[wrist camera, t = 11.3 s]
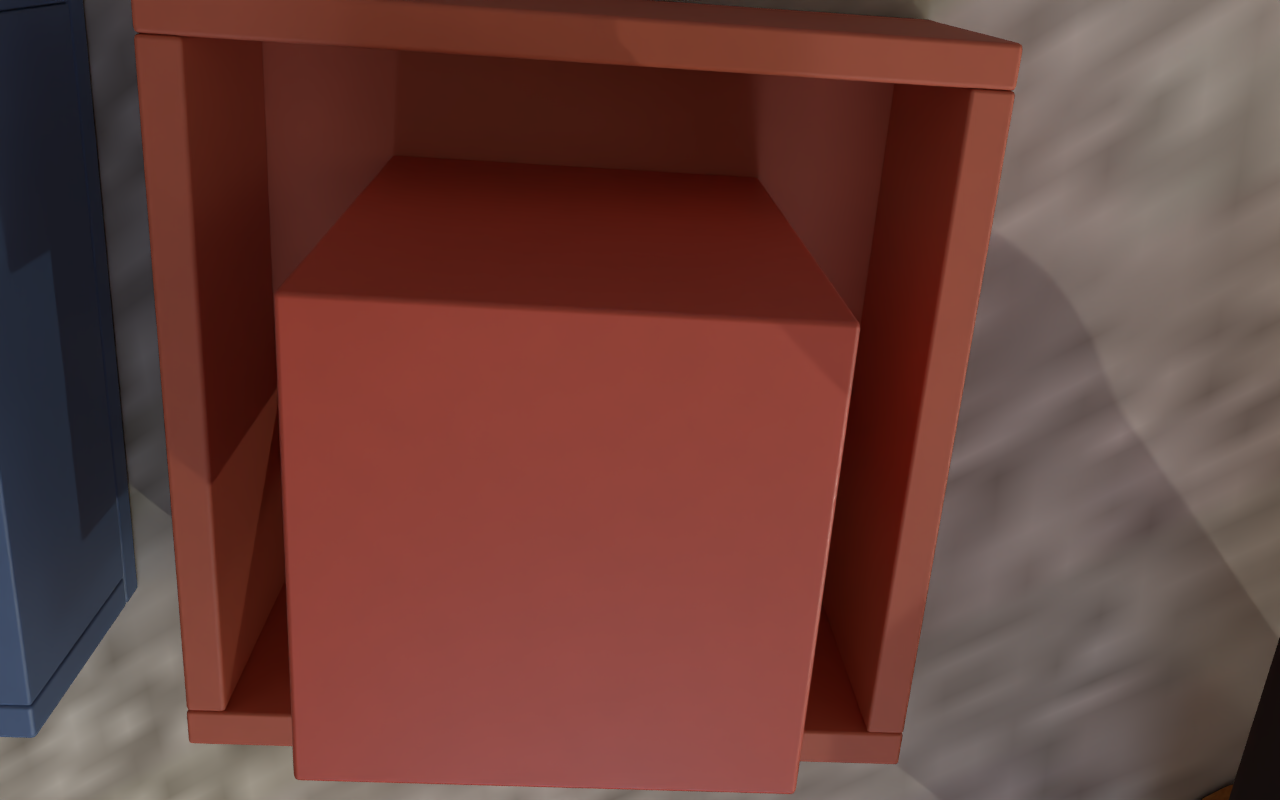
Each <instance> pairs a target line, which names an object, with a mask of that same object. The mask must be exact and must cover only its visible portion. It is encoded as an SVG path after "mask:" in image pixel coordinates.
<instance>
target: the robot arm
mask: <svg viewBox="0 0 1280 800" xmlns="http://www.w3.org/2000/svg"><path fill="white" fill-rule="evenodd" d="M1229 800H1280V638H1279V642H1278V645H1277V648H1276V651H1275V654H1274V657H1273V661H1272V664H1271V667H1270V670H1269V673H1268V676H1267V680H1266V683H1265V686H1264V689H1263V692H1262V695H1261V699H1260V702H1259V705H1258V708H1257V711H1256V714H1255V718H1254V721H1253V724H1252V727H1251V730H1250V733H1249V737H1248V740H1247V743H1246V746H1245V749H1244V752H1243V756H1242V759H1241V762H1240V765H1239V768H1238V771H1237V775H1236V778H1235V781H1234V784H1233V787H1232V790H1231V794H1230V797H1229Z"/></svg>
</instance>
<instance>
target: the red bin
mask: <svg viewBox="0 0 1280 800" xmlns="http://www.w3.org/2000/svg"><path fill="white" fill-rule="evenodd" d="M131 7H132V19H133V28H134V30H135V31H136V32H138V33H139V34H136V35H135V38H134V44H135V57H136V70H137V82H138V95H139V108H140V120H141V133H142V146H143V158H144V171H145V183H146V196H147V209H148V221H149V234H150V247H151V259H152V272H153V285H154V297H155V310H156V322H157V335H158V348H159V360H160V373H161V386H162V398H163V411H164V424H165V436H166V449H167V461H168V474H169V487H170V499H171V512H172V525H173V537H174V550H175V563H176V575H177V588H178V600H179V613H180V626H181V638H182V651H183V664H184V676H185V689H186V702H187V708H188V712H187V720H188V732H189V741H190V742H191V743H207V744H241V745H274V746H293V743H292V720H291V696H290V672H289V648H288V625H287V601H286V577H285V553H284V530H283V506H282V482H281V458H280V435H279V411H278V387H277V363H276V340H275V316H274V294H275V292H276V291H277V290H278V288H279V287H280V286H281V285H282V284H283V283H284V282H285V280H286V279H287V278H288V277H289V276H290V275H291V273H292V272H293V271H294V270H295V269H296V268H297V266H298V265H299V264H300V263H301V262H302V261H303V260H304V258H305V257H306V256H307V255H308V254H309V253H310V251H311V250H312V249H313V248H314V247H315V246H316V245H317V243H318V242H319V241H320V240H321V239H322V238H323V236H324V235H325V234H326V233H327V232H328V231H329V229H330V228H331V227H332V226H333V225H334V224H335V223H336V221H337V220H338V219H339V218H340V217H341V216H342V214H343V213H344V212H345V211H346V210H347V209H348V207H349V206H350V205H351V204H352V203H353V202H354V201H355V199H356V198H357V197H358V196H359V195H360V194H361V192H362V191H363V190H364V189H365V188H366V187H367V186H368V184H369V183H370V182H371V181H372V180H373V179H374V177H375V176H376V175H377V174H378V173H379V172H380V170H381V169H382V168H383V167H384V166H385V165H386V164H387V162H388V161H389V160H390V159H391V158H392V157H393V156H411V157H428V158H444V159H460V160H477V161H493V162H510V163H526V164H543V165H559V166H575V167H592V168H608V169H625V170H641V171H657V172H674V173H690V174H707V175H723V176H739V177H756V178H758V179H759V181H760V182H761V183H762V185H763V186H764V188H765V189H766V191H767V192H768V193H769V195H770V196H771V198H772V199H773V201H774V202H775V203H776V205H777V206H778V208H779V209H780V211H781V212H782V213H783V215H784V216H785V218H786V219H787V221H788V222H789V223H790V225H791V226H792V228H793V229H794V231H795V232H796V233H797V235H798V236H799V238H800V239H801V241H802V242H803V244H804V245H805V246H806V248H807V249H808V251H809V252H810V254H811V255H812V256H813V258H814V259H815V261H816V262H817V264H818V265H819V266H820V268H821V269H822V271H823V272H824V274H825V275H826V276H827V278H828V279H829V281H830V282H831V284H832V285H833V286H834V288H835V289H836V291H837V292H838V294H839V295H840V296H841V298H842V299H843V301H844V302H845V304H846V305H847V306H848V308H849V309H850V311H851V312H852V314H853V315H854V316H855V318H856V319H857V321H858V322H859V324H860V334H859V342H858V349H857V356H856V363H855V370H854V377H853V384H852V391H851V399H850V406H849V413H848V420H847V427H846V434H845V441H844V448H843V456H842V463H841V470H840V477H839V484H838V491H837V498H836V505H835V513H834V520H833V527H832V534H831V541H830V548H829V555H828V562H827V570H826V577H825V584H824V591H823V598H822V605H821V612H820V619H819V627H818V634H817V641H816V648H815V655H814V662H813V669H812V676H811V684H810V691H809V698H808V705H807V712H806V719H805V726H804V733H803V741H802V748H801V755H800V761H810V762H843V763H876V764H897V762H898V758H899V753H900V747H901V741H902V736H903V735H902V732H903V729H904V724H905V718H906V712H907V707H908V701H909V695H910V690H911V684H912V678H913V673H914V667H915V661H916V656H917V650H918V644H919V638H920V633H921V627H922V621H923V616H924V610H925V604H926V599H927V593H928V587H929V581H930V576H931V570H932V564H933V559H934V553H935V547H936V542H937V536H938V530H939V524H940V519H941V513H942V507H943V502H944V496H945V490H946V485H947V479H948V473H949V468H950V462H951V456H952V450H953V445H954V439H955V433H956V428H957V422H958V416H959V411H960V405H961V399H962V393H963V388H964V382H965V376H966V371H967V365H968V359H969V354H970V348H971V342H972V337H973V331H974V325H975V319H976V314H977V308H978V302H979V297H980V291H981V285H982V280H983V274H984V268H985V262H986V257H987V251H988V245H989V240H990V234H991V228H992V223H993V217H994V211H995V206H996V200H997V194H998V188H999V183H1000V177H1001V171H1002V166H1003V160H1004V154H1005V149H1006V143H1007V137H1008V131H1009V126H1010V120H1011V114H1012V109H1013V103H1014V97H1015V95H1014V92H1012V91H1011V90H1014V89H1015V87H1016V83H1017V78H1018V72H1019V66H1020V61H1021V55H1022V45H1020V44H1019V43H1016V42H1012V41H1008V40H1004V39H1000V38H996V37H992V36H988V35H985V34H981V33H977V32H973V31H969V30H965V29H961V28H957V27H953V26H949V25H945V24H942V23H938V22H935V21H931V20H925V19H911V18H897V17H882V16H868V15H854V14H839V13H825V12H811V11H796V10H782V9H768V8H753V7H739V6H725V5H710V4H696V3H682V2H667V1H653V0H131Z"/></svg>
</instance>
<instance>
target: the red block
mask: <svg viewBox="0 0 1280 800" xmlns="http://www.w3.org/2000/svg"><path fill="white" fill-rule="evenodd" d="M274 316H275V340H276V363H277V387H278V411H279V435H280V458H281V482H282V506H283V530H284V553H285V577H286V601H287V625H288V648H289V672H290V696H291V720H292V743H293V767H294V776H295V778H296V779H298V780H317V781H352V782H387V783H423V784H458V785H493V786H529V787H564V788H599V789H635V790H670V791H705V792H741V793H776V794H792V793H794V791H795V789H796V783H797V776H798V769H799V762H800V755H801V748H802V741H803V733H804V726H805V719H806V712H807V705H808V698H809V691H810V684H811V676H812V669H813V662H814V655H815V648H816V641H817V634H818V627H819V619H820V612H821V605H822V598H823V591H824V584H825V577H826V570H827V562H828V555H829V548H830V541H831V534H832V527H833V520H834V513H835V505H836V498H837V491H838V484H839V477H840V470H841V463H842V456H843V448H844V441H845V434H846V427H847V420H848V413H849V406H850V399H851V391H852V384H853V377H854V370H855V363H856V356H857V349H858V342H859V334H860V324H859V322H858V321H857V319H856V318H855V316H854V315H853V314H852V312H851V311H850V309H849V308H848V306H847V305H846V304H845V302H844V301H843V299H842V298H841V296H840V295H839V294H838V292H837V291H836V289H835V288H834V286H833V285H832V284H831V282H830V281H829V279H828V278H827V276H826V275H825V274H824V272H823V271H822V269H821V268H820V266H819V265H818V264H817V262H816V261H815V259H814V258H813V256H812V255H811V254H810V252H809V251H808V249H807V248H806V246H805V245H804V244H803V242H802V241H801V239H800V238H799V236H798V235H797V233H796V232H795V231H794V229H793V228H792V226H791V225H790V223H789V222H788V221H787V219H786V218H785V216H784V215H783V213H782V212H781V211H780V209H779V208H778V206H777V205H776V203H775V202H774V201H773V199H772V198H771V196H770V195H769V193H768V192H767V191H766V189H765V188H764V186H763V185H762V183H761V182H760V181H759V179H758V178H756V177H739V176H723V175H707V174H690V173H674V172H657V171H641V170H625V169H608V168H592V167H575V166H559V165H543V164H526V163H510V162H493V161H477V160H460V159H444V158H428V157H411V156H393V157H392V158H391V159H390V160H389V161H388V162H387V164H386V165H385V166H384V167H383V168H382V169H381V170H380V172H379V173H378V174H377V175H376V176H375V177H374V179H373V180H372V181H371V182H370V183H369V184H368V186H367V187H366V188H365V189H364V190H363V191H362V192H361V194H360V195H359V196H358V197H357V198H356V199H355V201H354V202H353V203H352V204H351V205H350V206H349V207H348V209H347V210H346V211H345V212H344V213H343V214H342V216H341V217H340V218H339V219H338V220H337V221H336V223H335V224H334V225H333V226H332V227H331V228H330V229H329V231H328V232H327V233H326V234H325V235H324V236H323V238H322V239H321V240H320V241H319V242H318V243H317V245H316V246H315V247H314V248H313V249H312V250H311V251H310V253H309V254H308V255H307V256H306V257H305V258H304V260H303V261H302V262H301V263H300V264H299V265H298V266H297V268H296V269H295V270H294V271H293V272H292V273H291V275H290V276H289V277H288V278H287V279H286V280H285V282H284V283H283V284H282V285H281V286H280V287H279V288H278V290H277V291H276V292H275V294H274Z"/></svg>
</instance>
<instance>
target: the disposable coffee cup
mask: <svg viewBox="0 0 1280 800" xmlns="http://www.w3.org/2000/svg"><path fill="white" fill-rule="evenodd" d="M1232 787H1233V784H1232V785H1229V786H1226V787H1224V788H1222V789H1220V790H1218V791H1216V792H1214V793H1213V794H1211V795H1209V796H1207V797H1205V798H1203V799H1202V800H1229V797H1230V794H1231V790H1232Z"/></svg>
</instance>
